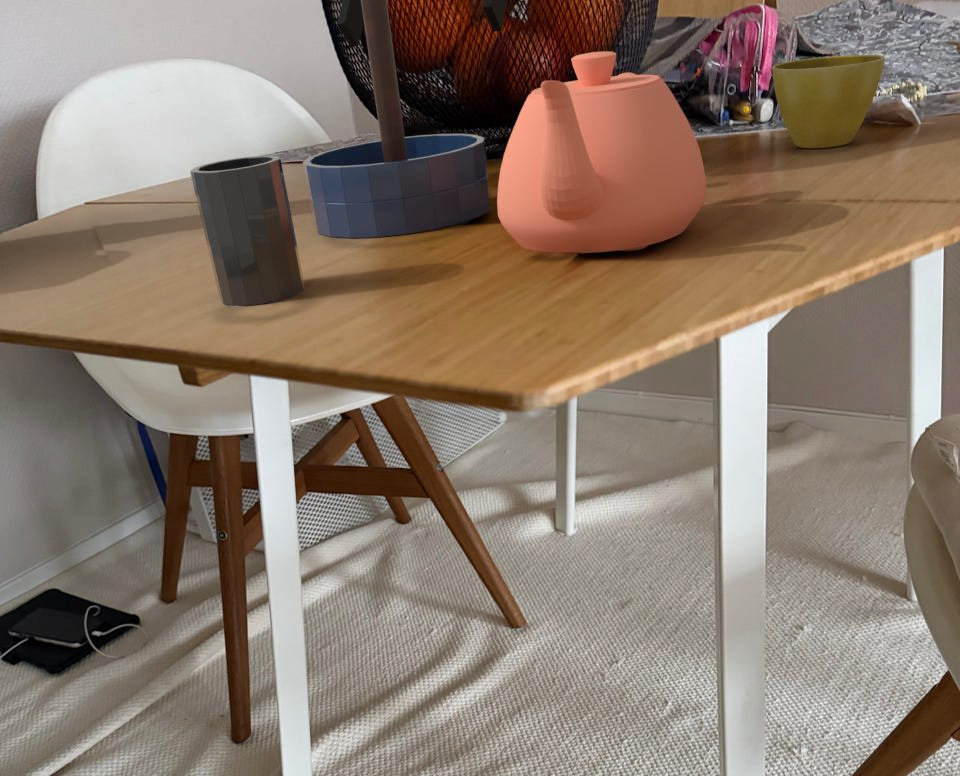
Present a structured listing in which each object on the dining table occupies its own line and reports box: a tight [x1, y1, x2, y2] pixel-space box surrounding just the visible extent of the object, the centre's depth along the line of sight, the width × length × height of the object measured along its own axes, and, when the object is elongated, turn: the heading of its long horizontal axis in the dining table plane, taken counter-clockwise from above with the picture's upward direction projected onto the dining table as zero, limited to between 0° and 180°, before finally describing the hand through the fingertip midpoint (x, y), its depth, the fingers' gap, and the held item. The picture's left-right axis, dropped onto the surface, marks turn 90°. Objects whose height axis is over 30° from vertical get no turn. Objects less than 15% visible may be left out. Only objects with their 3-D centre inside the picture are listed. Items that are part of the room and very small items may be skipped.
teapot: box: [496, 51, 707, 254], centre depth 77 cm, size 22×15×12 cm
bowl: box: [302, 133, 492, 239], centre depth 93 cm, size 15×15×6 cm
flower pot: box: [771, 54, 886, 149], centre depth 104 cm, size 10×10×7 cm
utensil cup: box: [189, 155, 306, 307], centre depth 74 cm, size 6×6×9 cm
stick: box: [361, 0, 408, 163], centre depth 89 cm, size 2×2×20 cm
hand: (418, 27), depth 93 cm, fingers open, 13 cm apart
